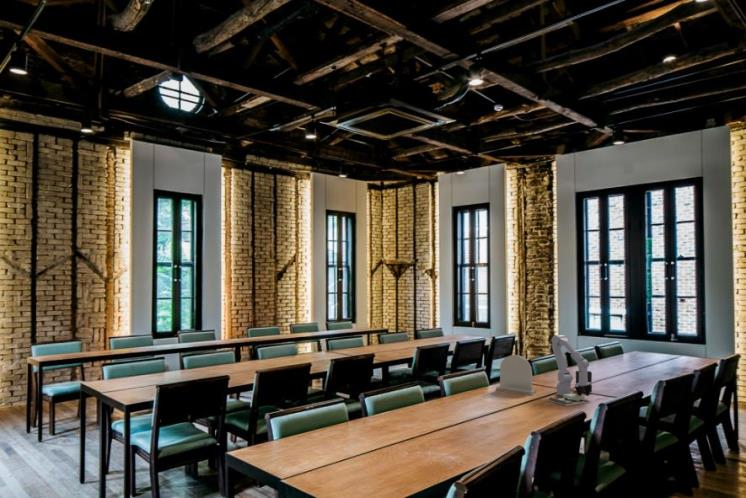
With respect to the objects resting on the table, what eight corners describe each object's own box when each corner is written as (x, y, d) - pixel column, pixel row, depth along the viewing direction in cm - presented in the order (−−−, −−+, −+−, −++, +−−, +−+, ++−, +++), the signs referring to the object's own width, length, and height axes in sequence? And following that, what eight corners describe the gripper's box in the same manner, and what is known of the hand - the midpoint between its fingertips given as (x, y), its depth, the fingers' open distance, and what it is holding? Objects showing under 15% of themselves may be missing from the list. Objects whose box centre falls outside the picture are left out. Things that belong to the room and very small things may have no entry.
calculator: (590, 390, 398) (590, 371, 398) (592, 391, 393) (591, 372, 394) (575, 390, 399) (575, 370, 399) (577, 391, 394) (576, 371, 395)
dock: (548, 400, 363) (548, 397, 363) (569, 397, 372) (569, 394, 372) (566, 405, 349) (566, 402, 349) (587, 402, 358) (587, 399, 358)
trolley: (562, 399, 365) (562, 394, 365) (572, 398, 369) (572, 393, 370) (574, 402, 356) (574, 397, 356) (584, 401, 361) (584, 396, 361)
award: (536, 393, 386) (535, 356, 388) (532, 395, 379) (531, 357, 381) (500, 388, 403) (500, 352, 404) (496, 390, 396) (495, 354, 397)
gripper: (580, 378, 361) (580, 398, 361) (594, 377, 368) (595, 396, 367) (572, 376, 368) (572, 396, 367) (586, 375, 374) (586, 394, 374)
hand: (583, 396), depth 368 cm, fingers open, 7 cm apart
